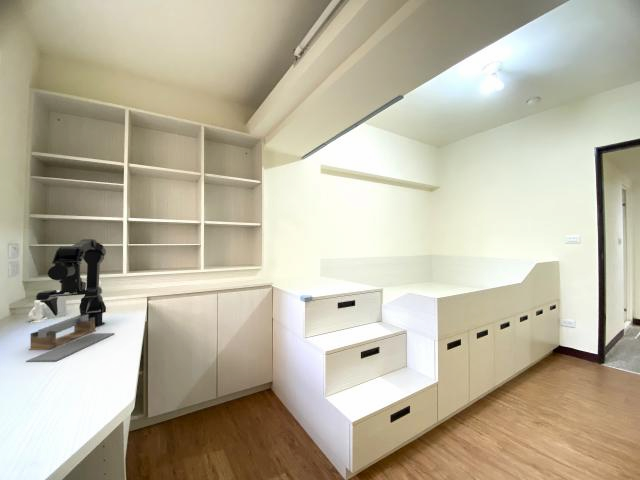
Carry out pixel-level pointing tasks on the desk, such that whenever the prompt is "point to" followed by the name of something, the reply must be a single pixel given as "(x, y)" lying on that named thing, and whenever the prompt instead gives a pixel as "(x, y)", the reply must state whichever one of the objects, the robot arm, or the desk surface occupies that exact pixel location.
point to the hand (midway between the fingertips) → (71, 313)
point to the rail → (63, 325)
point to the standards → (54, 342)
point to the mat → (70, 348)
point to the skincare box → (60, 306)
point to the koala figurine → (37, 311)
